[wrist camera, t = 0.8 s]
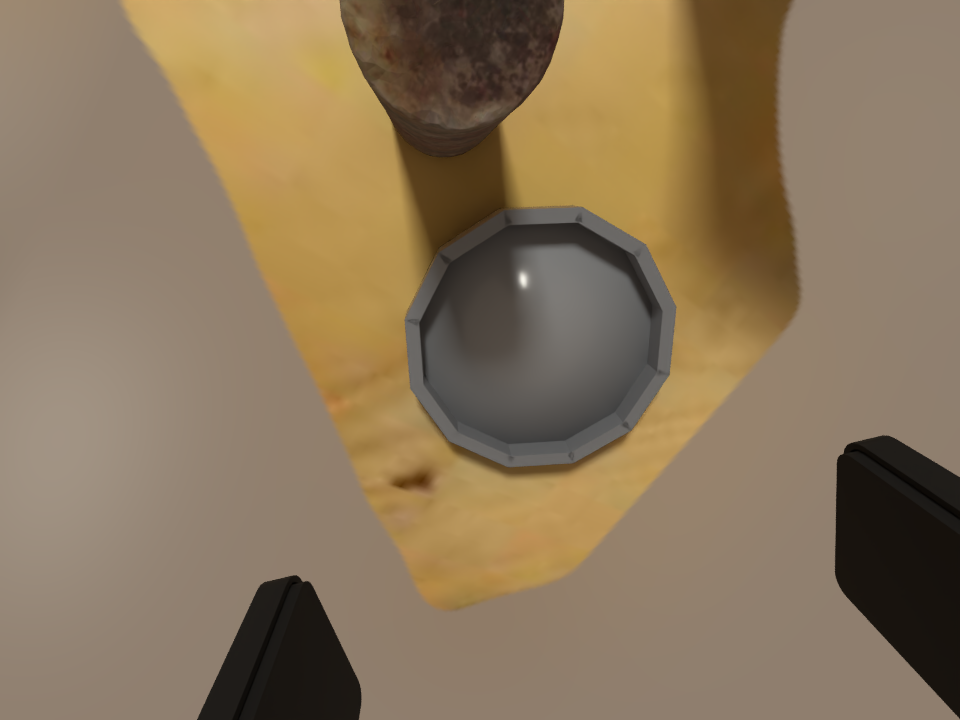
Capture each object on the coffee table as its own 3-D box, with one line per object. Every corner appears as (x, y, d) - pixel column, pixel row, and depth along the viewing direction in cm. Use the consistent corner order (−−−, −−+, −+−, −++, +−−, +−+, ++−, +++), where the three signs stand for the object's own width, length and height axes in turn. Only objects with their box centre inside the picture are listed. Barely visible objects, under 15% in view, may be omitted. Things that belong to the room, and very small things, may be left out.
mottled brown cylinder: (520, 105, 34) (613, 6, 16) (446, 183, 36) (449, 180, 17) (441, 11, 32) (437, -236, 13) (365, 98, 34) (265, -14, 15)
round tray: (587, 151, 36) (599, 148, 33) (695, 370, 42) (713, 383, 39) (358, 299, 38) (351, 308, 35) (493, 486, 44) (496, 506, 42)
